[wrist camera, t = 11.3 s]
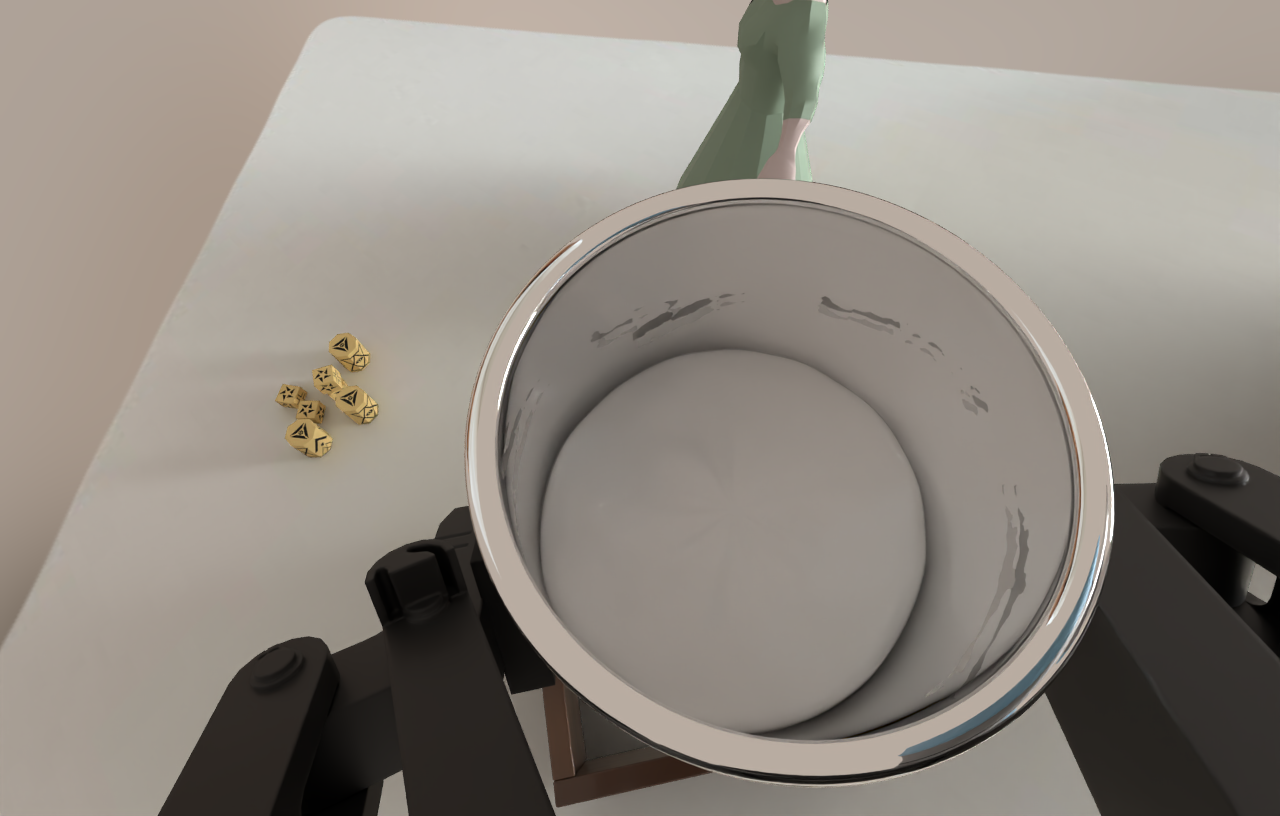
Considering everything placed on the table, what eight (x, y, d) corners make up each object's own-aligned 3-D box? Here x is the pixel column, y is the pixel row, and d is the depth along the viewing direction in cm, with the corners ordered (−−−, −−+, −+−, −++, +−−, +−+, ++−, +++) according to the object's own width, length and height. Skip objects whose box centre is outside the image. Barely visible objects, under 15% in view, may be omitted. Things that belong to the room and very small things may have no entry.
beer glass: (549, 577, 20) (316, 386, 6) (700, 451, 22) (774, 82, 8) (687, 758, 18) (789, 1067, 4) (843, 601, 20) (1286, 447, 6)
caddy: (535, 510, 29) (518, 487, 25) (767, 465, 29) (784, 436, 26) (570, 786, 24) (555, 808, 20) (845, 725, 25) (878, 735, 21)
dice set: (367, 346, 33) (351, 327, 31) (401, 418, 31) (386, 403, 29) (278, 388, 32) (256, 372, 30) (308, 466, 30) (286, 453, 28)
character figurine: (679, 136, 38) (699, -264, 22) (807, 145, 38) (928, -259, 21) (652, 349, 32) (652, 11, 16) (806, 363, 32) (975, 29, 15)
